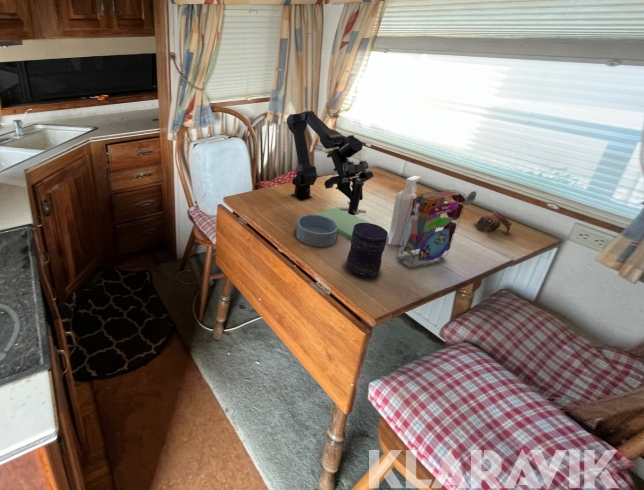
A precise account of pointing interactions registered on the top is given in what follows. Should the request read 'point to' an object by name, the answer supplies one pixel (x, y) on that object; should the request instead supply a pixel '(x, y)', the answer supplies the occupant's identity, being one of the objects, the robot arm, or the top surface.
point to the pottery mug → (492, 222)
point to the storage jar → (366, 250)
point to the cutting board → (342, 220)
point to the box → (432, 224)
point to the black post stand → (354, 205)
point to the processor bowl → (316, 230)
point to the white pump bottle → (402, 211)
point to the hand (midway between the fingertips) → (357, 200)
